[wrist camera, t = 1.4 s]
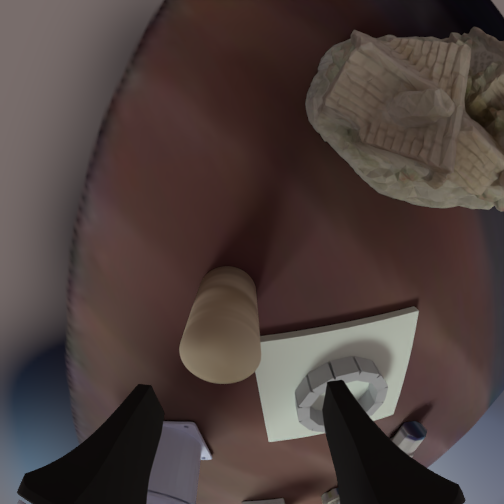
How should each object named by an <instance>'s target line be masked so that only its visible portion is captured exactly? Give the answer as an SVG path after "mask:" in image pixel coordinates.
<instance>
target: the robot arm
mask: <svg viewBox="0 0 504 504" xmlns="http://www.w3.org/2000/svg"><path fill="white" fill-rule="evenodd" d="M322 413H323V421H324V428H325V433H326V437H327V441H328V445H329V448H330V452H331V456H332V460H333V464H334V467H335V471H336V476H337V481H338V489H339V498H340V504H463V503H464V502H465V498H464V495H463V492H462V490H461V489H460V487H459V485H458V484H456V483H454V482H452V481H450V480H447V479H445V478H443V477H441V476H440V475H438V474H436V473H434V472H432V471H431V470H429V469H427V468H426V467H424V466H423V465H421V464H420V463H419V462H417V461H416V460H414V459H413V458H411V457H410V456H409V455H408V454H406V453H405V452H404V451H403V450H401V449H400V448H399V447H398V446H397V445H396V444H395V443H394V442H392V441H391V440H390V439H389V438H388V437H387V436H386V435H385V434H384V432H383V431H382V430H381V429H380V428H379V427H378V426H377V425H376V424H375V423H374V421H373V420H372V419H371V418H370V417H369V415H368V414H367V413H366V412H365V410H364V409H363V408H362V407H361V405H360V404H359V403H358V401H357V400H356V398H355V397H354V396H353V394H352V393H351V391H350V390H349V388H348V387H347V385H346V384H345V382H344V381H343V380H336V381H329V382H327V386H326V392H325V397H324V403H323V408H322ZM163 420H164V411H163V409H162V407H161V405H160V403H159V401H158V399H157V397H156V395H155V392H154V390H153V388H152V386H151V385H143V384H138V385H137V386H136V387H135V389H134V390H133V391H132V392H131V393H130V394H129V396H128V397H127V398H126V399H125V400H124V401H123V403H122V404H121V405H120V406H119V407H118V408H117V409H116V410H115V412H114V413H113V414H112V415H111V416H110V417H109V418H108V419H107V420H106V421H105V422H104V423H103V424H102V425H101V426H100V427H99V428H98V429H97V430H96V431H95V432H94V433H93V434H92V435H91V436H90V437H89V438H88V439H86V440H85V441H84V442H83V443H81V444H80V445H79V446H78V447H76V448H75V449H73V450H72V451H71V452H69V453H68V454H66V455H65V456H63V457H61V458H59V459H58V460H56V461H54V462H52V463H50V464H48V465H46V466H44V467H42V468H39V469H37V470H34V471H31V472H29V473H26V474H25V475H24V477H23V479H22V482H21V484H20V486H19V489H18V491H17V493H18V494H19V495H20V496H21V497H23V498H24V499H26V500H27V501H29V502H31V503H32V504H196V496H197V487H198V478H199V469H200V461H201V460H211V459H212V455H211V453H210V451H209V449H208V447H207V445H206V443H205V441H204V439H203V437H202V436H201V434H200V432H199V429H198V427H197V425H196V424H195V423H194V422H173V421H163ZM18 504H26V503H24V502H22V501H21V500H19V501H18Z"/></svg>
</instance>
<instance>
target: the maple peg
mask: <svg viewBox="0 0 504 504" xmlns="http://www.w3.org/2000/svg"><path fill="white" fill-rule="evenodd" d="M179 352H180V357H181V360H182V362H183V364H184V365H185V366H186V368H187V369H188V370H189V371H190V372H191V373H193V374H194V375H195V376H197V377H199V378H201V379H203V380H205V381H208V382H212V383H218V384H229V383H235V382H238V381H241V380H244V379H246V378H247V377H249V376H250V375H252V374H253V373H254V372H255V371H256V369H257V368H258V366H259V364H260V361H261V343H260V331H259V319H258V306H257V294H256V286H255V284H254V281H253V280H252V278H251V277H250V276H249V275H248V274H247V273H246V272H245V271H243V270H241V269H239V268H236V267H232V266H222V267H218V268H215V269H213V270H211V271H210V272H208V273H207V274H206V275H205V276H204V278H203V279H202V282H201V284H200V287H199V290H198V292H197V295H196V298H195V301H194V304H193V307H192V310H191V313H190V315H189V318H188V321H187V324H186V327H185V330H184V333H183V336H182V339H181V342H180V348H179Z"/></svg>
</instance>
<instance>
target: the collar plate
mask: <svg viewBox="0 0 504 504" xmlns="http://www.w3.org/2000/svg"><path fill="white" fill-rule="evenodd" d="M418 312H419V310H418V309H417V308H416V307H415V306H413V307H409V308H405V309H401V310H397V311H393V312H389V313H385V314H381V315H377V316H372V317H368V318H363V319H358V320H354V321H349V322H344V323H339V324H333V325H328V326H323V327H317V328H311V329H305V330H299V331H293V332H286V333H280V334H273V335H265V336H260V343H261V361H260V364H259V366H258V368H257V369H256V371H255V373H256V378H257V384H258V389H259V394H260V399H261V404H262V410H263V415H264V420H265V425H266V430H267V435H268V440H269V442H273V441H281V440H288V439H295V438H301V437H307V436H313V435H318V434H323V433H325V428H324V421H323V413H322V408H323V403H324V397H325V392H326V386H327V382H329V381H336V380H343V381H344V382H345V384H346V385H347V387H348V388H349V390H350V391H351V393H352V394H353V396H354V397H355V398H356V400H357V401H358V403H359V404H360V405H361V407H362V408H363V409H364V410H365V412H366V413H367V414H368V415H369V417H370V418H371V419H372V420H373V421H375V420H378V419H381V418H384V417H387V416H390V415H393V413H394V410H395V407H396V404H397V401H398V398H399V395H400V391H401V388H402V385H403V381H404V377H405V374H406V370H407V366H408V362H409V358H410V353H411V349H412V344H413V339H414V334H415V329H416V324H417V318H418Z"/></svg>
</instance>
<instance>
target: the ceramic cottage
mask: <svg viewBox="0 0 504 504" xmlns="http://www.w3.org/2000/svg"><path fill="white" fill-rule="evenodd" d="M310 84H311V86H310V88H309V90H308V92H307V97H306V102H305V106H306V111H307V116H308V120H309V122H310V124H312V126H313V128H314V129H315V130H316V132H318V133H320V135H321V137H322V139H323V140H324V141H325V142H326V141H327V142H328V143H329V144H330V146H331V147H332V148H333V149H334V150H335V151H336V152H337V153H338V154H339V155H340V156H341V157H342V158H343V159H344V160H346V161H347V162H348V163H349V165H350V166H351V167H352V168H353V169H354V171H355V172H356V174H358V175H360V177H361V179H363V180H364V181H365V182H367V183H368V184H369V185H370V186H371V187H373V188H374V189H375V190H376V191H377V192H378V193H380V194H383V195H386V196H388V197H392V198H393V199H399V200H404V201H406V202H408V203H411V204H414V205H419V206H426V207H430V208H449V207H455V206H462V207H466V208H470V209H487V210H489V209H490V208H492V207H493V206H494V205H495V207H496V209H498V210H499V211H504V41H498V40H497V39H496V38H494V37H493V36H490V35H488V34H486V33H484V32H483V31H482V30H481V29H480V28H477V27H473V28H472V29H471V30H470V32H469V34H465V33H464V34H463V35H460V34H459V33H451V34H450V36H449V38H445V39H438V38H435V37H432V36H431V37H417V36H414V37H404V38H396V37H395V36H394V35H386V36H383V37H380V38H372V37H371V36H369V35H367V34H364V33H362V32H359V31H356V30H354V31H353V32H352V34H351V39H348V40H346V41H344V42H341V43H338V44H336V45H334V46H333V47H331V48H330V49H329V50H328V51H327V52H326V53H325V55H324V56H323V57H322V58H321V62H320V63H319V66H318V73H317V74H316V75H315V76H314V78H313V81H312V83H310Z"/></svg>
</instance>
